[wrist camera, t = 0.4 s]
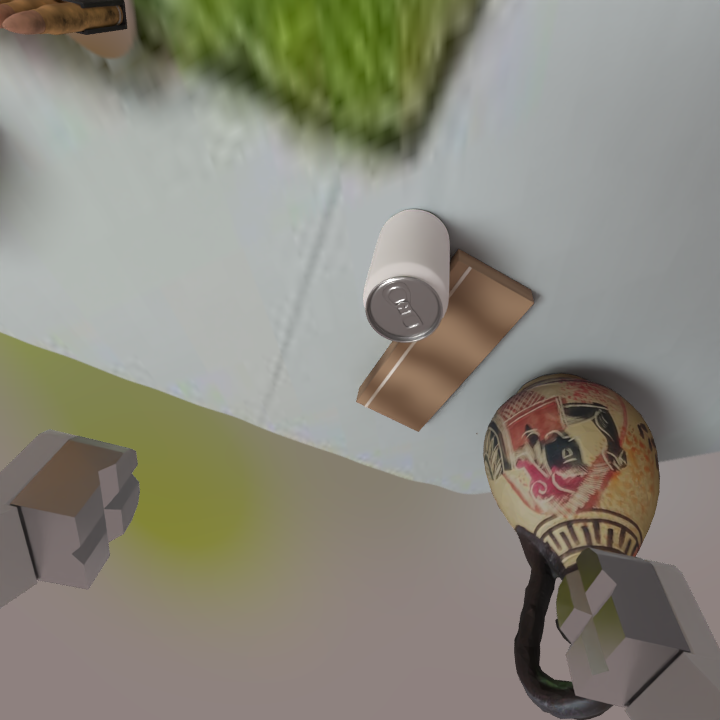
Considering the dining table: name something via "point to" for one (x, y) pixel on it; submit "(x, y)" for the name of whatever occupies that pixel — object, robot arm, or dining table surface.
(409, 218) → the can
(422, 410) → the plank
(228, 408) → the dining table surface
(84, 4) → the ammunition clip
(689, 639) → the robot arm
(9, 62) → the dining table surface
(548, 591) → the ceramic jug
